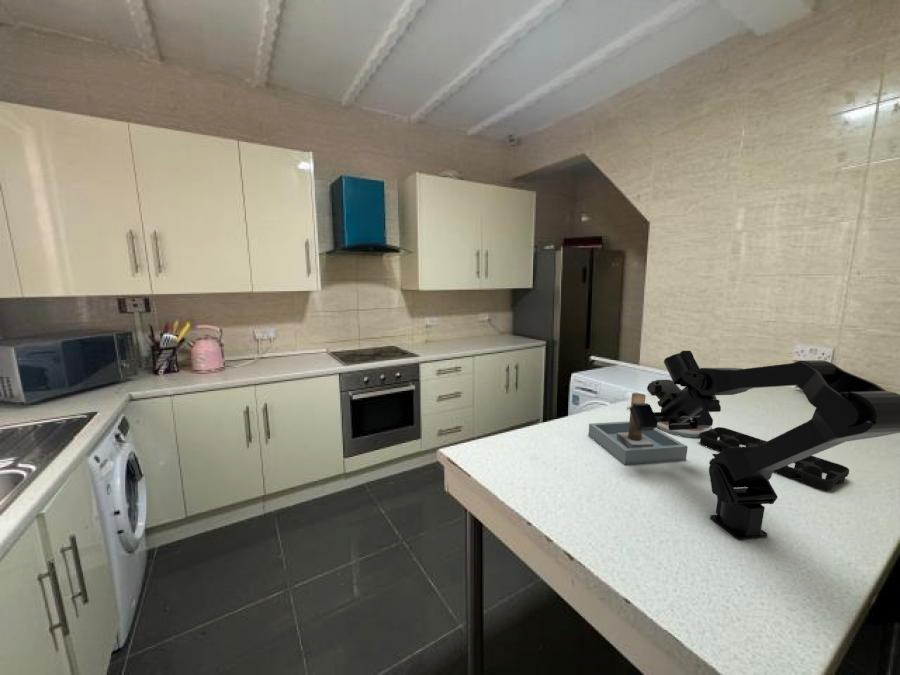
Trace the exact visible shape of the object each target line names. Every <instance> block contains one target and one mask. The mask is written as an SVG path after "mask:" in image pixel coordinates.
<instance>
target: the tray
mask: <svg viewBox="0 0 900 675" xmlns="http://www.w3.org/2000/svg"><path fill="white" fill-rule="evenodd" d="M629 422H630V420H628V421H627V420H626V421H615V422H614V421H611V422H597V423H595V422H594V423H588V435H589V436H590V437H591V438H590V437H589V436H588V437H589V438H590V439H592V440H593V439H594V440H595V441H596V444H598V446H600V445H601V447H602V448H603V449H604V450H605V451H606V452H608V453H609V454H610V455H611V454H612V455H611V456H613V457H614V458H615V459H617V460H618V461H619V462H620V463H621V464H622V465H624V466H631V465H644V464H658V463H659V462H660V463H670V461H673V462H683V461H684V460H686V461H687V457H688V455H687V454H688V445H685V444H684V443H682V442H680V441H679V440H677V439H675V438H673V437H672V436H670V435H668V433H667V434H666V432H665V433H664V431H662V430H660V429H659V428H657V427H656V428H655V429H653V430H651V431H642V437H644V438H645V439H647V440H648V441H650V442H651V443H653V447H640V448H627V447H626V446H625V445H623V444H622V443H621V442H620V441H618V440H617V433H626V432H629ZM594 440H593V441H594ZM595 441H594V442H595ZM684 462H685V461H684Z"/></svg>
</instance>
